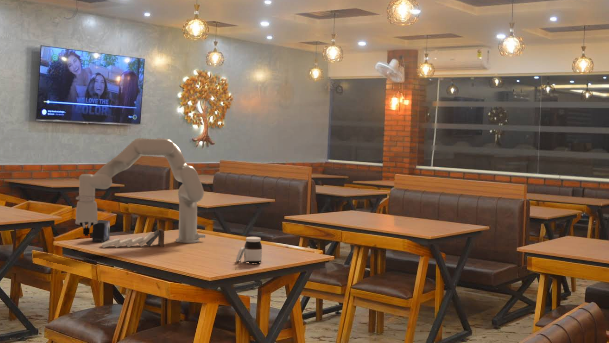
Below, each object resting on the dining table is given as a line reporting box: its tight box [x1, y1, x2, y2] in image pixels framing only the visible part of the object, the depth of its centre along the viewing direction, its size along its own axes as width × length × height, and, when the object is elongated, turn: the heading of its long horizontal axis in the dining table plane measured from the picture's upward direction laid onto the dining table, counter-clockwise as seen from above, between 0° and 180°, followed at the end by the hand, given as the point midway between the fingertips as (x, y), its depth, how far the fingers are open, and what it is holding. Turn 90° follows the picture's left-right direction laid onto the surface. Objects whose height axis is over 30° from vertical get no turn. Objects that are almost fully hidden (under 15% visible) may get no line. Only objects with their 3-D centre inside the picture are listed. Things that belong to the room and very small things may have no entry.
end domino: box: [145, 229, 160, 247], centre depth 369 cm, size 2×5×9 cm
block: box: [157, 228, 165, 248], centre depth 370 cm, size 2×8×8 cm, turn 21°
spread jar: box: [235, 236, 263, 263], centre depth 331 cm, size 12×11×12 cm
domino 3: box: [125, 236, 144, 248], centre depth 365 cm, size 2×5×9 cm
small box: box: [91, 219, 111, 243], centre depth 379 cm, size 11×6×10 cm, turn 179°
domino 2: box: [113, 237, 133, 248], centre depth 363 cm, size 2×5×9 cm
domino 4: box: [137, 231, 155, 247], centre depth 367 cm, size 2×5×9 cm
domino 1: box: [100, 238, 121, 249], centre depth 361 cm, size 2×5×9 cm
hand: (86, 235), depth 357 cm, fingers closed
